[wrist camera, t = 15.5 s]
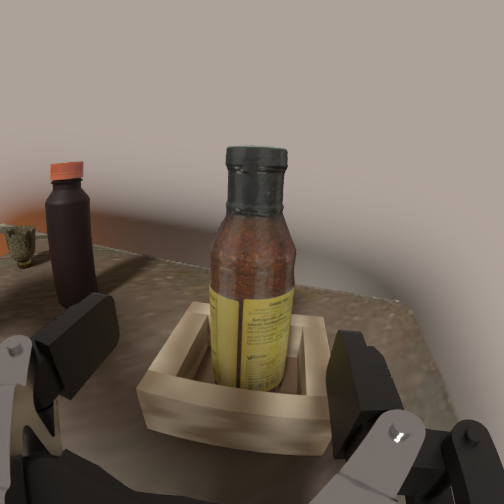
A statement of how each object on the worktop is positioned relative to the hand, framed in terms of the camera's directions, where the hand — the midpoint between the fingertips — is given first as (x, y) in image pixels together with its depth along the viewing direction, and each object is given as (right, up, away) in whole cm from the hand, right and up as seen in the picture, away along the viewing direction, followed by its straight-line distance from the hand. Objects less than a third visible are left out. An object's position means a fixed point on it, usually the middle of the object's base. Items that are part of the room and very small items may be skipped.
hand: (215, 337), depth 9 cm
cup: (-46, 0, +35) cm, 58 cm away
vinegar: (-25, -4, +27) cm, 37 cm away
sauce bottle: (+1, -9, +15) cm, 17 cm away
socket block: (+1, -10, +15) cm, 18 cm away
